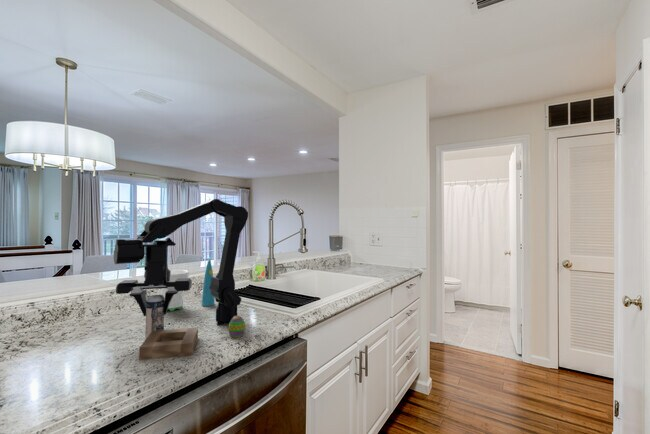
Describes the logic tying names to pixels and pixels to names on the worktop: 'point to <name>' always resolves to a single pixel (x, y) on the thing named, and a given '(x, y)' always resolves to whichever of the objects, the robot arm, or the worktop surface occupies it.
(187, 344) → the socket
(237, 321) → the egg
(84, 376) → the worktop surface
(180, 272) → the cup
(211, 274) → the tube
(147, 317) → the beer can
